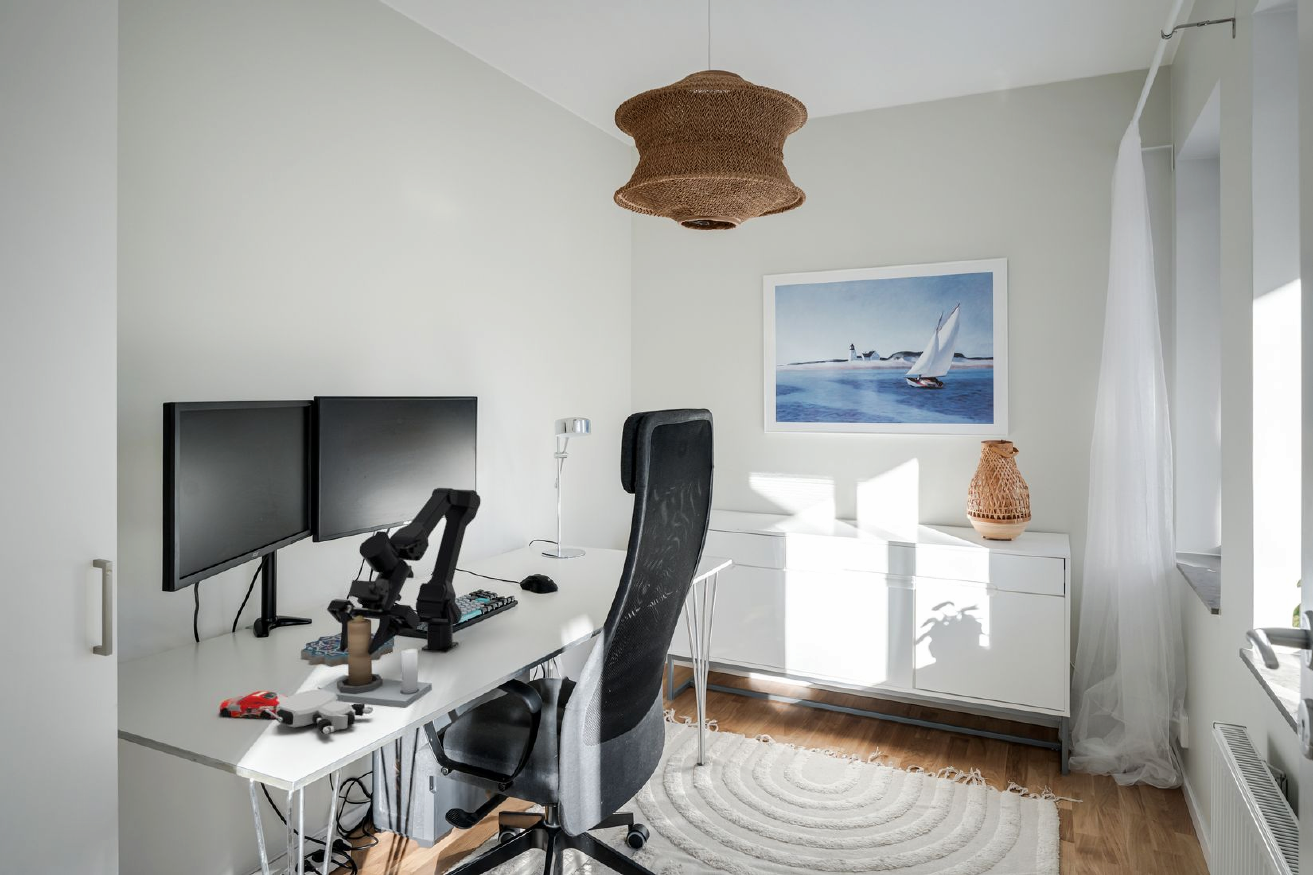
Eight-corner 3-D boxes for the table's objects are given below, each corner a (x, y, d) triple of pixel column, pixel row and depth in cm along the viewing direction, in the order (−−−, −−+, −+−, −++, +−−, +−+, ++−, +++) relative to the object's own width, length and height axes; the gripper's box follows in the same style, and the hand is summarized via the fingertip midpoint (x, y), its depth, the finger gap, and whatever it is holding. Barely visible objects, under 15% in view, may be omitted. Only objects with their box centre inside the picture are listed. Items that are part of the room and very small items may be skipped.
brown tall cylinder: (352, 681, 158) (351, 612, 158) (374, 681, 159) (373, 612, 158) (345, 689, 154) (344, 619, 153) (368, 689, 154) (367, 618, 153)
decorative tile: (369, 635, 196) (369, 626, 196) (409, 653, 182) (409, 643, 182) (287, 653, 181) (287, 643, 181) (324, 674, 168) (324, 663, 167)
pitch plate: (344, 680, 163) (343, 637, 162) (431, 688, 158) (431, 644, 158) (313, 698, 153) (312, 651, 153) (405, 707, 149) (405, 659, 148)
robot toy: (377, 723, 144) (315, 705, 149) (378, 699, 143) (316, 682, 149) (326, 750, 132) (261, 729, 138) (327, 724, 132) (262, 704, 138)
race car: (212, 718, 144) (212, 697, 143) (232, 707, 149) (231, 686, 149) (279, 722, 142) (278, 700, 142) (296, 711, 147) (296, 690, 147)
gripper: (332, 560, 162) (294, 627, 151) (411, 566, 157) (378, 636, 146) (356, 589, 169) (323, 655, 159) (432, 595, 164) (402, 664, 154)
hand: (355, 652), depth 155 cm, fingers open, 6 cm apart
